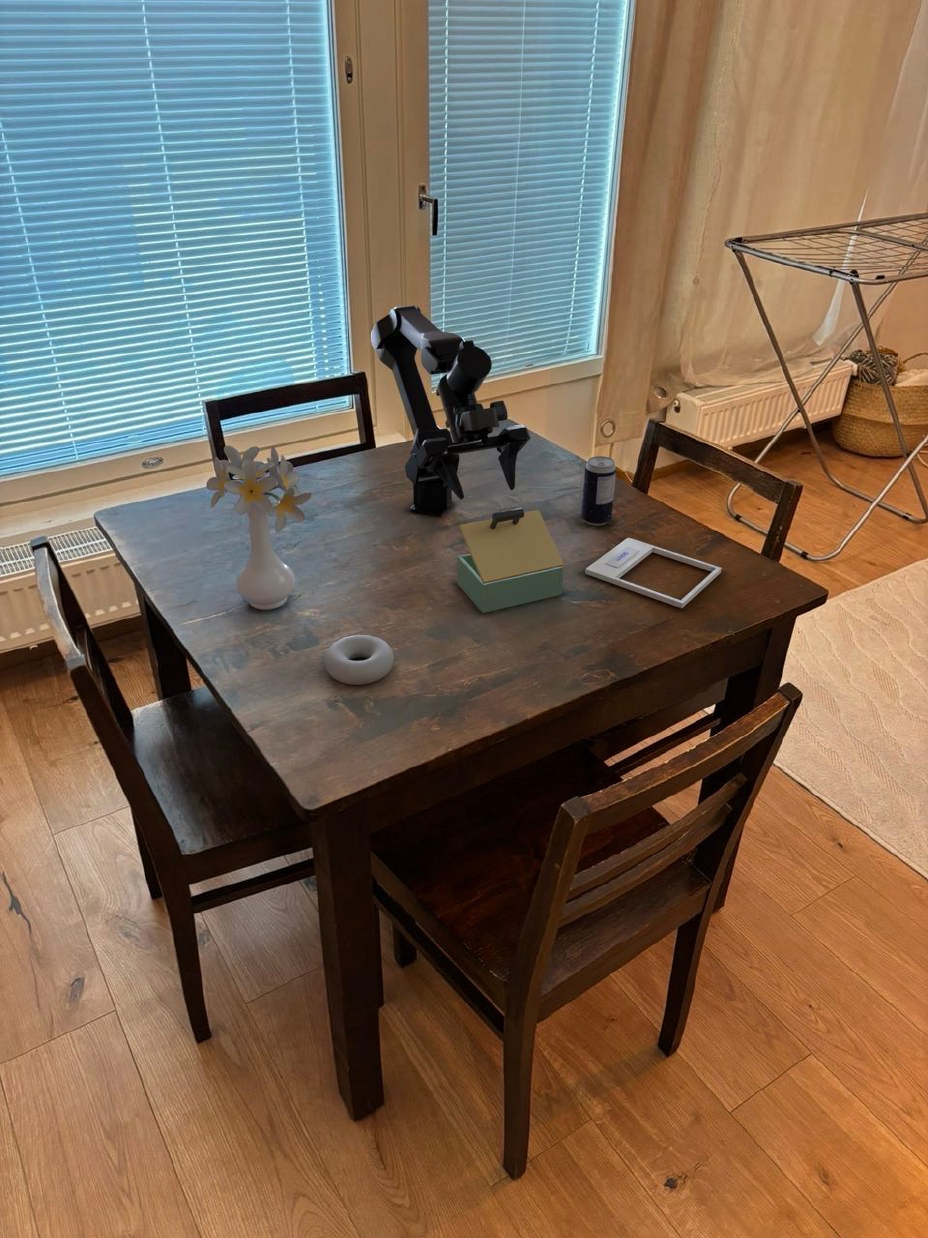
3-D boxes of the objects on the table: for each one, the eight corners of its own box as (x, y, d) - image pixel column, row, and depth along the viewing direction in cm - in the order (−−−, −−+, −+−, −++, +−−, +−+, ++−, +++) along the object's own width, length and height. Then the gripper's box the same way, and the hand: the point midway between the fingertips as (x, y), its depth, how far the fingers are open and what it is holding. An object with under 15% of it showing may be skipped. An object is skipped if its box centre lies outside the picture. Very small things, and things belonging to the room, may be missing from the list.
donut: (393, 648, 137) (326, 650, 136) (393, 629, 135) (324, 630, 135) (395, 689, 129) (323, 691, 128) (394, 669, 127) (321, 670, 126)
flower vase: (286, 637, 139) (268, 485, 126) (203, 600, 148) (178, 454, 135) (343, 600, 148) (332, 455, 135) (261, 568, 157) (243, 428, 144)
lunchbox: (457, 583, 153) (457, 556, 150) (532, 566, 158) (534, 539, 155) (482, 613, 145) (483, 585, 143) (561, 594, 150) (563, 567, 147)
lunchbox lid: (459, 526, 147) (464, 512, 143) (537, 511, 152) (545, 496, 148) (482, 584, 143) (489, 570, 139) (563, 566, 148) (571, 552, 144)
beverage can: (610, 514, 175) (616, 455, 169) (611, 528, 170) (617, 468, 164) (580, 513, 176) (585, 454, 169) (580, 526, 171) (585, 466, 164)
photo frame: (628, 536, 165) (721, 566, 156) (627, 541, 166) (720, 572, 156) (585, 567, 155) (682, 602, 146) (585, 573, 156) (681, 608, 147)
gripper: (421, 392, 143) (449, 484, 140) (528, 377, 149) (556, 465, 147) (404, 423, 153) (430, 510, 151) (505, 408, 160) (531, 491, 157)
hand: (487, 493), depth 151 cm, fingers open, 9 cm apart
